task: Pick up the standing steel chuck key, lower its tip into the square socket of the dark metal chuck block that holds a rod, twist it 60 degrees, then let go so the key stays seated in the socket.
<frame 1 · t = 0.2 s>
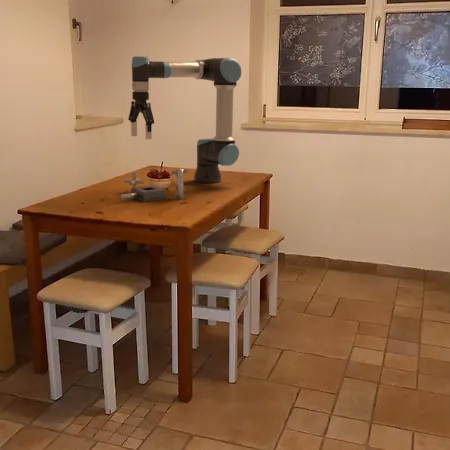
hand: (141, 137, 278), 28 cm above the table, tool pointing down, fingers open, 13 cm apart
chuck block: (148, 198, 278), on the table
chuck key: (179, 198, 279), on the table
pipe connector: (134, 192, 293), on the table
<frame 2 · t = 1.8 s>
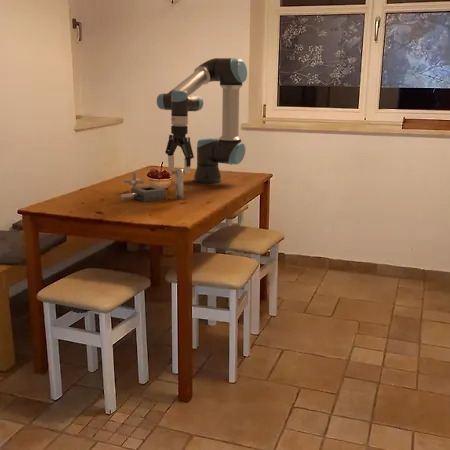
hand: (179, 171, 276), 13 cm above the table, tool pointing down, fingers open, 13 cm apart
nothing on the table moved.
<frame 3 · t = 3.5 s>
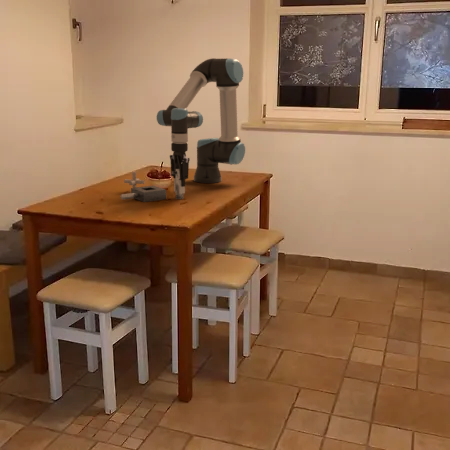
hand: (179, 192, 279), 3 cm above the table, tool pointing down, fingers closed on chuck key, 3 cm apart
chuck key: (179, 198, 279), on the table, touching gripper
everything else where it was.
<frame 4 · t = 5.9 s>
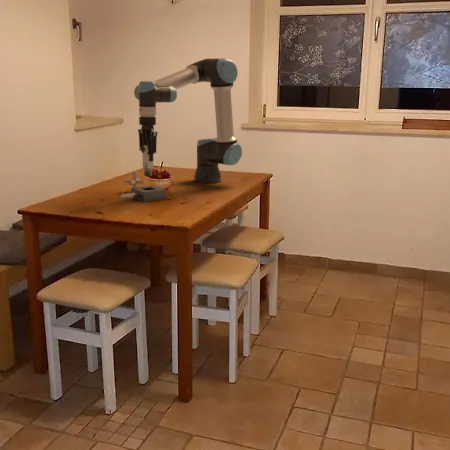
hand: (147, 167, 275), 15 cm above the table, tool pointing down, fingers closed on chuck key, 3 cm apart
chuck key: (147, 175, 275), point 11 cm above the table, touching gripper
everything else where it was.
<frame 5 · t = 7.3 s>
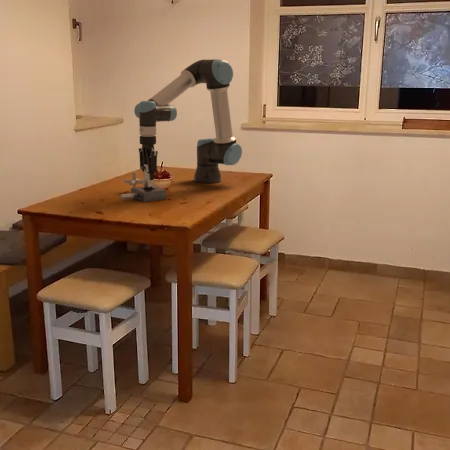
hand: (148, 185, 277), 6 cm above the table, tool pointing down, fingers closed on chuck key, 3 cm apart
chuck key: (148, 193, 278), point 2 cm above the table, touching gripper
everything else where it was.
when the fingers open (6 cm above the table, at t = 8.5 s): chuck key stays where it is, resting on chuck block.
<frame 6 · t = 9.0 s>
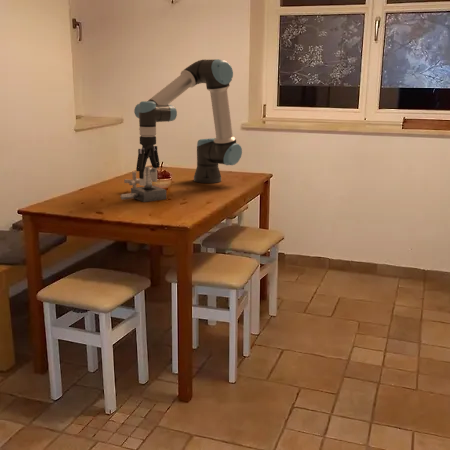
hand: (148, 183, 277), 7 cm above the table, tool pointing down, fingers open, 10 cm apart
chuck key: (148, 196, 278), point 1 cm above the table, touching chuck block
everything else where it was.
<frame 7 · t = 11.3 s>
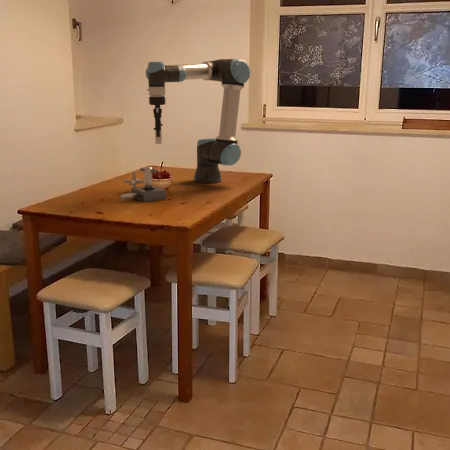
hand: (158, 141, 281), 25 cm above the table, tool pointing down, fingers open, 13 cm apart
nothing on the table moved.
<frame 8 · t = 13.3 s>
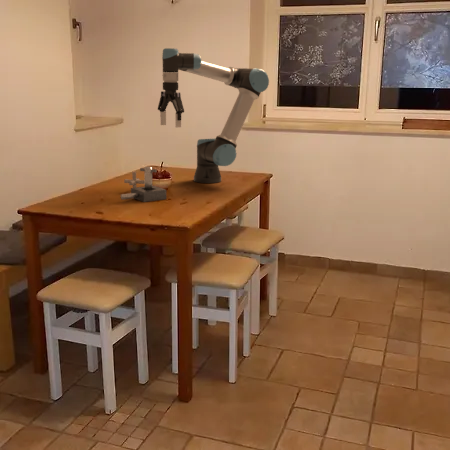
hand: (170, 126, 291), 32 cm above the table, tool pointing down, fingers open, 13 cm apart
nothing on the table moved.
at the end: chuck key 0.1 cm off-centre on the chuck block, point 0.7 cm above the chuck block's base; chuck key tilted 0°; the gripper is holding nothing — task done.
